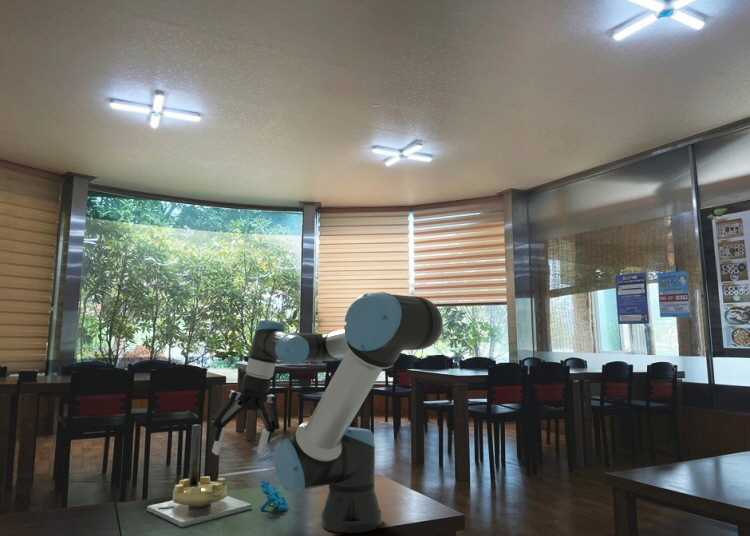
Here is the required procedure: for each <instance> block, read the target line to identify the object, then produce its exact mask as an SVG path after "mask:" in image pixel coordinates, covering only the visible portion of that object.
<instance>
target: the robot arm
mask: <svg viewBox="0 0 750 536" xmlns="http://www.w3.org/2000/svg"><path fill="white" fill-rule="evenodd" d="M440 311H441V310H440V309H439V308H438V307H437V305H436V304H435V303H433V302H432V301H431V300H429V299H428V298H424V297H422V296H421V297H420V296H413V295H412V296H411V295H403V294H401V295H400V294H391V293H388V292H384V291H383V292H382V291H381V292H369V293H368V292H367V293H364V294H362V295H360V296H358V297H357V298H355V300H354V301H352V303H351V304H350V306H349V307H348V309H347V310H346V314H345V317H344V322H346V324H344V325H343V327H344V328H341V329H338V330H337V329H336V330H333V331H330V332H325V333H309V332H307V333H306V332H287V331H285V329H286V328H285V327H286V326H285V324H284V323H282V322H280V321H274V320H271V319H266V318H261V319H260V320H259V321H258V322H257V323H258V324H257V326H256V329H255V330H254V334H253V335H254V336H253V340H252V344H251V348H250V352H249V357H248V360H247V363H246V368H245V372H246V373H245V374H244V375H243V379H242V382H241V390H240V391H239V392H237V391H235V390H233V389H229V391H228V393H227V397H226V398H225V399H224V401H223V403H221V405H220V406H219V408H218V409H216V410H217V411H215V412H214V415H213V416H211V418H210V419H209V424H210V425H212V426H213V427H214V431H213V435H212V440H213V441H214V443H213V445H212V448H211V452H212V454H214V455H215V456H219V455H220V451H221V448H222V445H223V440H224V436H225V432H226V429H225V427H226V426H227V425H228V424H229V423H230V422H232V420H233V419H234V418H235V417H237V415H239V414H240V413H241V412H243V411H244V410H245V411H254V412H255V411H256V412H258V414H259V417H260V418H261V421H262V423H263V427H265V429H262V431H261V434H260V439H259V442H258V446H257V450H256V453H257V454H259V455H260V456H261V457H264V456H265V453H266V449H267V444H269V443H270V441H271V437H272V434H273V433H275V431H276V430H279V429H280V422H279V414H278V410H277V409H278V408H277V399H278V397H277V396H276V395H274V394H272V393H270V394H269V391H270V388H271V383H272V378H273V376H274V372H275V367H276V364H277V360H278V361H281V362H282V363H284V364H288V365H289V364H290V365H299V364H301V363H302V362H335V361H340V363H339V365H338V366H337V369H336V370H335V372H334V375H333V376H332V377H331V380H330V381H329V384H328V386H327V387H326V389H325V391H324V393H323V394H322V396H321V398H320V400H319V402H318V404H317V405H316V407H315V409H314V410H313V413H312V414H311V417H310V418H309V419H308V421H304V422H302V423H301V424H299V425H298V427H297V428H296V430H295V432H294V434H293V436H292V437H290V438H284V439H283V440H282V439H281V440H280V441H279V442H277V444H276V446H275V449H274V455H273V463H274V470H275V475H276V477H277V480H278V482H279V484H280V486H281V487H282V488H283V489H284V490H285V491H287V492H289V493H295V492H304V491H307V490H311V489H315V488H321V487H324V486H328V491H327V495H326V500H325V503H324V507H323V510H322V512H321V515H320V516H321V517H320V518H321V519H320V520H321V521H320V523H321V527H322V528H324V529H325V530H328V531H330V532H334V533H340V532H342V534H356V533H357V534H358V533H359V534H360V533H365V532H370V531H373V530H376V529H377V527H378V528H380V526H381V525H382V522H383V521H382V520H383V518H382V517H383V516H382V510H381V509H380V505H379V501H378V498H377V494H376V491H375V486H376V485H375V464H376V463H375V452H376V451H375V449H376V445H375V436H374V433H373V432H372V431H371V430H370V429H366V428H361V427H353V426H351V424H352V422H353V420H354V418H355V417H356V416H357V413H358V412H359V411H360V408H361V407H362V405H363V403H364V401H365V400H366V398H367V397H368V395H369V393H370V392H371V390H372V388H373V386H374V384H375V383H376V381H377V379H378V378H379V376H380V375H381V373H382V371H383V370H386V369H390V368H392V367H393V366H394V365H395V363H396V361H397V360H398V358H399V356H400V355H401V353H403V351H415V350H416V351H419V350H424V349H427V348H429V347H432V346H433V345H435V344H436V342H437V341H438V340H439V339H440V336H441V334H442V331H443V327H444V321H443V317H442V316H443V315H442V313H441V312H440ZM268 394H269V395H268ZM237 399H239V400H237ZM236 400H237V402H236V403H235V401H236ZM266 402H267V407H268V413H269V415H268V413H267V409H266V407H265V403H266ZM233 404H234V405H233ZM343 532H345V533H343ZM347 532H348V533H347Z"/></svg>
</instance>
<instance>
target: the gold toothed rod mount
mask: <svg viewBox="0 0 750 536" xmlns="http://www.w3.org/2000/svg"><path fill="white" fill-rule="evenodd" d="M201 430H202V425H201V424H192V425H191V443H190V461H189V462H190V464H189V477H188V478H184V479H181V480H179V481H178V484H175V485H174V489H173V490H172V501H173V502H175V503H177V504H182V505H200V504H208V503H213V502H216V501H220V500H222V499H224V498H225V497H226V496H228V485H227V483H226V481H227V479H226V478H224V477H218V478H216V481H211V476H210V475H209V476H208V475H207V476H204V475H203V476H200V479H199V474H200V472H199V471H200V455H201V454H200V451H201V434H202V433H201V432H202V431H201Z"/></svg>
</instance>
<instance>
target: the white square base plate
mask: <svg viewBox="0 0 750 536" xmlns="http://www.w3.org/2000/svg"><path fill="white" fill-rule="evenodd" d="M251 509H253V504H251V503H249V502H246V501H242V500H241V499H237V498H234V497H231V496H228V495H227V496H226V497H225V498H224V499H222V500H220V501H216V502H213V503H208V504H200V505H182V504H177V503H175V502H173V500H169V501H165V502H160V503H156V504H155V503H154V504H151V505H150V504H149V505H147V506H146V511H147V512H149V513H151V514H153V515H155V516H156V517H159V518H161V519H163V520H165V521H168V522H170V523H172V524H174V525H176V526H177V527H181V528H184V527H189V526H192V525H196V524H201V523H204V522H207V521H211V520H214V519H215V520H216V519H219V518H222V517H227V516H230V515H233V514H238V513H242V512H245V511H248V510H251Z"/></svg>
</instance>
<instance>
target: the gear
mask: <svg viewBox="0 0 750 536" xmlns="http://www.w3.org/2000/svg"><path fill="white" fill-rule="evenodd" d="M260 483H261V484H259V486H260V487H261V489H262V490H261V491H262V493H263V494H265V495H267V496H266V499H267V500H266V501H265V502H264V503H263V504H262V505H261V506H260V508H259V509H260V511H264V510H265V509H266V508H267V506H269V507H270V506H271V504H272V506H273V507H275V508H277V507H278V510H279V511H281V512H282V511H284V512H285V511H287V510H288V507H289V504H288V502H287V499H286V497H284V496H282V495H283V494H282V490H281V489H280V488H279V489H278V490H277V487H276V486H275V485H274V484H272V485H271V482H270V481H269V480H267V481H266V480H262V481H261V482H260Z"/></svg>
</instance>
